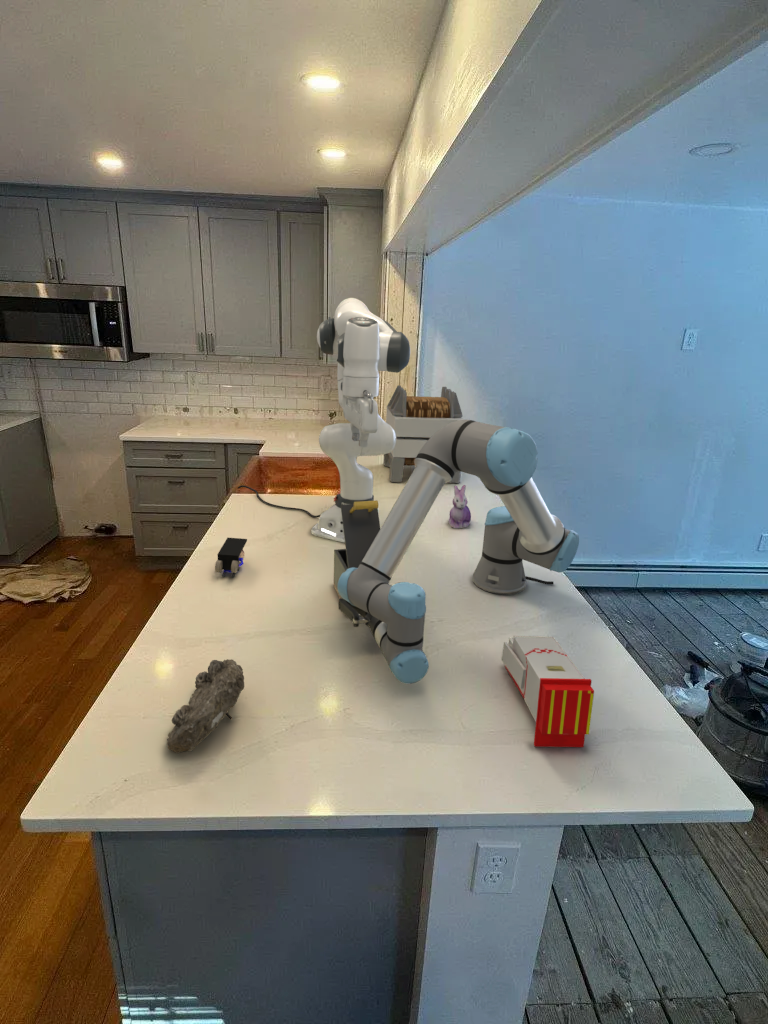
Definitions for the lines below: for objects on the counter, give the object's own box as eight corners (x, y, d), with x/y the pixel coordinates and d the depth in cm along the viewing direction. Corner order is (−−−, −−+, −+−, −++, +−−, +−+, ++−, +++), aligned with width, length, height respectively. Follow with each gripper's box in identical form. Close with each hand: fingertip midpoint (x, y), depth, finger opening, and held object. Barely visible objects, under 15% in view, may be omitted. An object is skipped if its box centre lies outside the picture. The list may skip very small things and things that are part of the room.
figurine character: (238, 584, 162) (249, 557, 175) (236, 562, 158) (247, 536, 172) (215, 584, 161) (227, 556, 175) (212, 561, 158) (225, 535, 171)
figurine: (456, 530, 205) (460, 491, 199) (441, 521, 213) (444, 483, 208) (477, 527, 209) (481, 488, 204) (461, 518, 217) (465, 480, 212)
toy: (550, 619, 129) (603, 686, 100) (544, 673, 132) (595, 754, 102) (497, 618, 128) (535, 685, 99) (492, 672, 131) (528, 753, 102)
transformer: (382, 463, 289) (386, 382, 275) (445, 464, 293) (451, 384, 279) (390, 482, 257) (394, 392, 243) (460, 483, 261) (468, 394, 247)
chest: (333, 585, 161) (334, 549, 157) (366, 582, 164) (367, 546, 160) (348, 616, 145) (349, 577, 141) (383, 612, 148) (385, 573, 144)
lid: (340, 505, 146) (347, 497, 138) (376, 503, 149) (384, 495, 141) (348, 575, 142) (356, 570, 134) (385, 572, 144) (394, 567, 137)
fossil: (192, 660, 117) (244, 628, 112) (224, 691, 120) (276, 661, 115) (142, 746, 98) (202, 712, 93) (182, 779, 101) (242, 748, 96)
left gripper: (385, 394, 130) (383, 453, 134) (362, 382, 148) (360, 434, 153) (359, 394, 128) (357, 454, 133) (338, 382, 146) (338, 435, 151)
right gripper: (341, 652, 125) (321, 603, 145) (434, 639, 132) (403, 594, 152) (342, 622, 123) (321, 577, 143) (436, 611, 129) (404, 569, 149)
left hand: (359, 443), depth 143 cm, fingers open, 6 cm apart
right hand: (363, 586), depth 147 cm, fingers closed on chest, 9 cm apart
